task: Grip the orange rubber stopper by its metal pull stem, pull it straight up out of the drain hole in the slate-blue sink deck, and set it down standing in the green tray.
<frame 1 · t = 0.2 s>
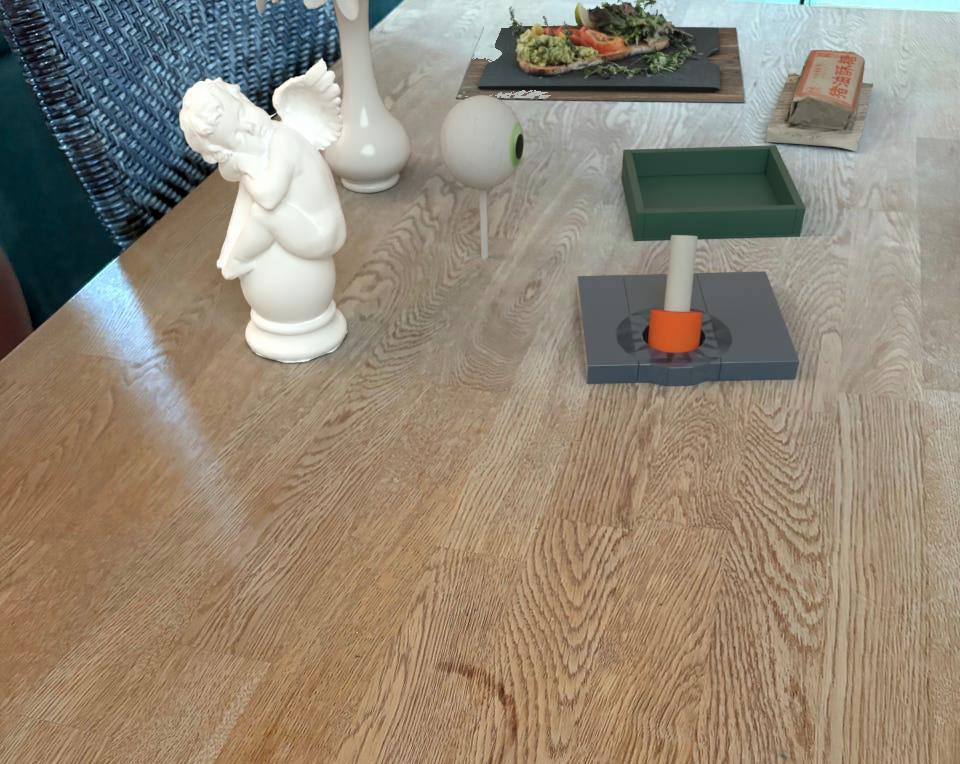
packaged product: (818, 120, 116), on the table
cherub figurine: (312, 328, 89), on the table
plated dish: (603, 62, 131), on the table
flower vase: (364, 184, 108), on the table
green tray: (705, 207, 102), on the table
stopper: (672, 357, 81), point 1 cm above the table, tilted 27°, touching sink deck
sink deck: (677, 348, 84), on the table
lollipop: (485, 273, 94), on the table
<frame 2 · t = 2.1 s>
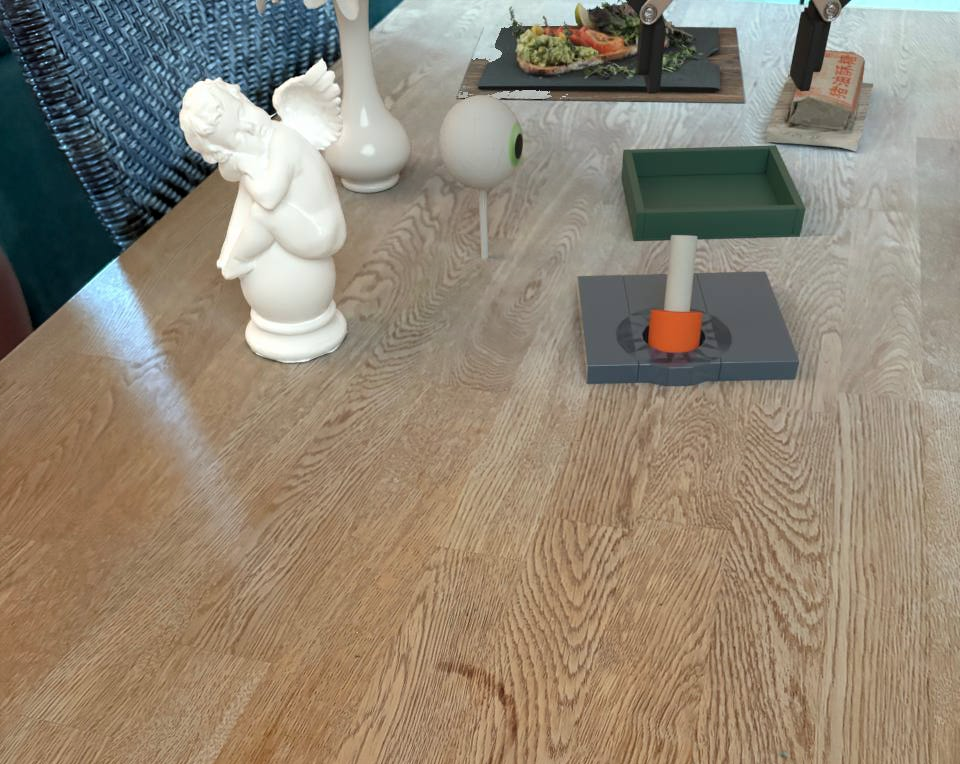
hand: (725, 85, 67), 21 cm above the table, tool pointing down, fingers open, 9 cm apart
nothing on the table moved.
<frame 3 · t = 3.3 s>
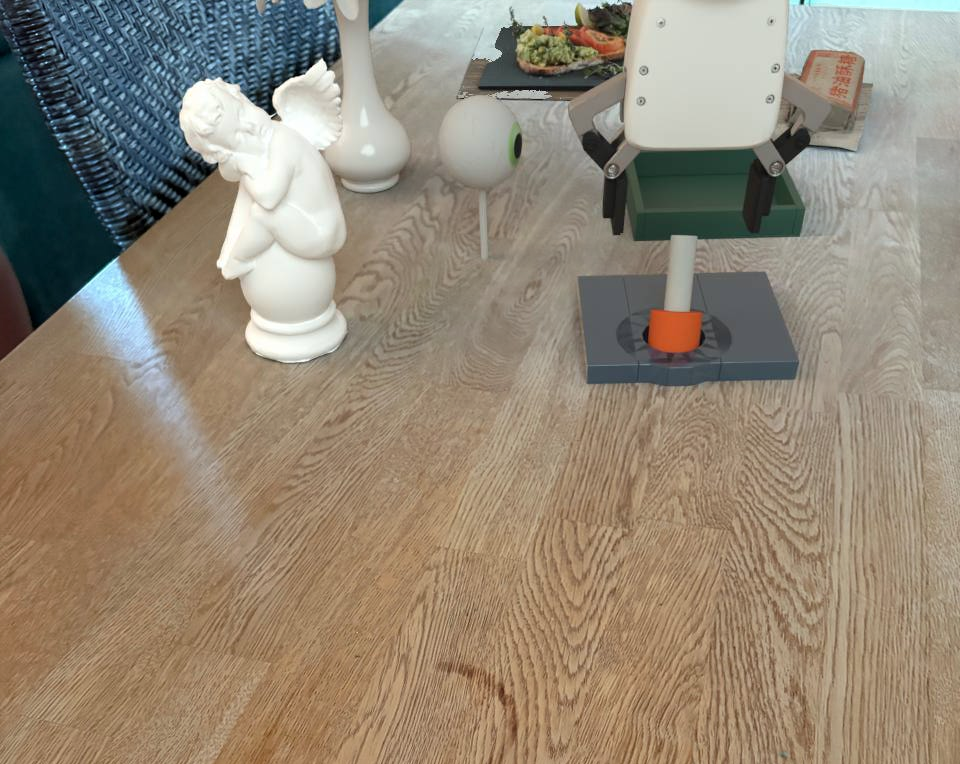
hand: (683, 226, 73), 12 cm above the table, tool pointing down, fingers open, 9 cm apart
nothing on the table moved.
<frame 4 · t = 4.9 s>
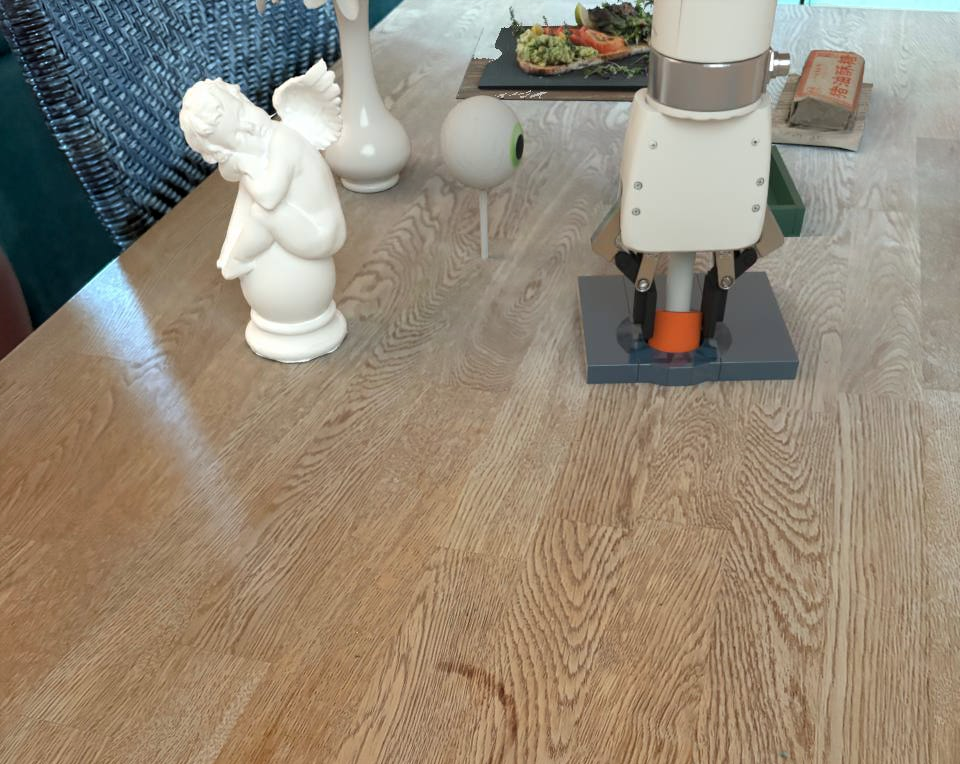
hand: (676, 327, 79), 4 cm above the table, tool pointing down, fingers closed on stopper, 4 cm apart
stopper: (672, 357, 81), point 1 cm above the table, tilted 27°, touching gripper, sink deck
everything else where it was.
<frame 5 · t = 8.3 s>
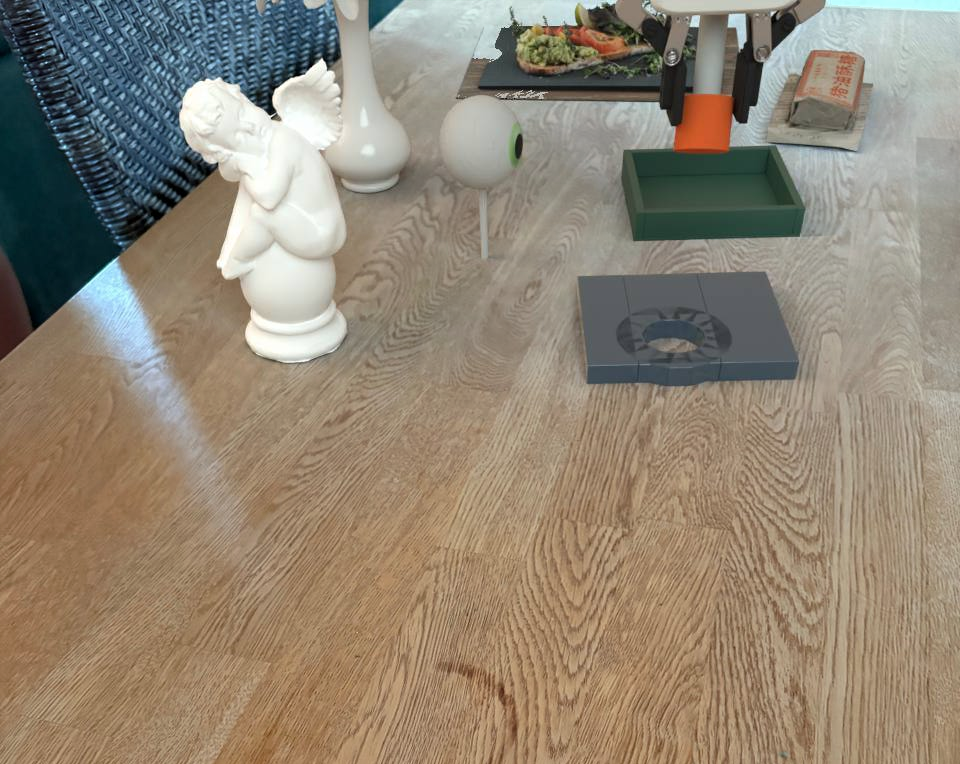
hand: (706, 115, 74), 17 cm above the table, tool pointing down, fingers closed on stopper, 4 cm apart
stopper: (700, 151, 75), point 15 cm above the table, tilted 26°, touching gripper
everything else where it was.
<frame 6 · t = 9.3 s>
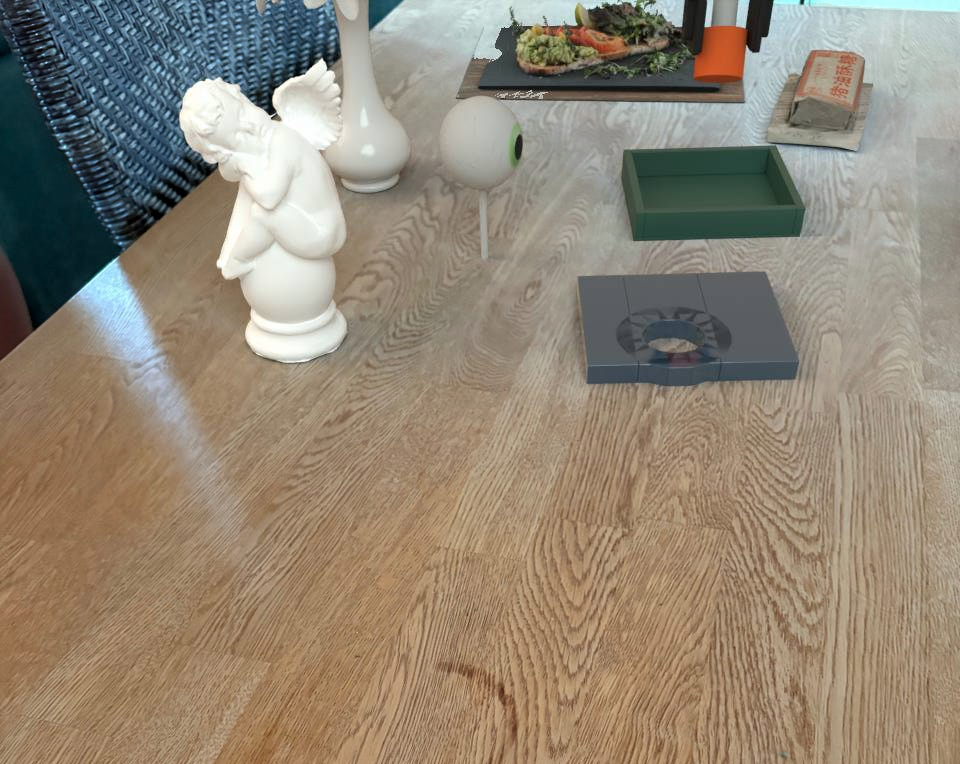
hand: (722, 46, 83), 17 cm above the table, tool pointing down, fingers closed on stopper, 4 cm apart
stopper: (717, 79, 84), point 15 cm above the table, tilted 26°, touching gripper
everything else where it was.
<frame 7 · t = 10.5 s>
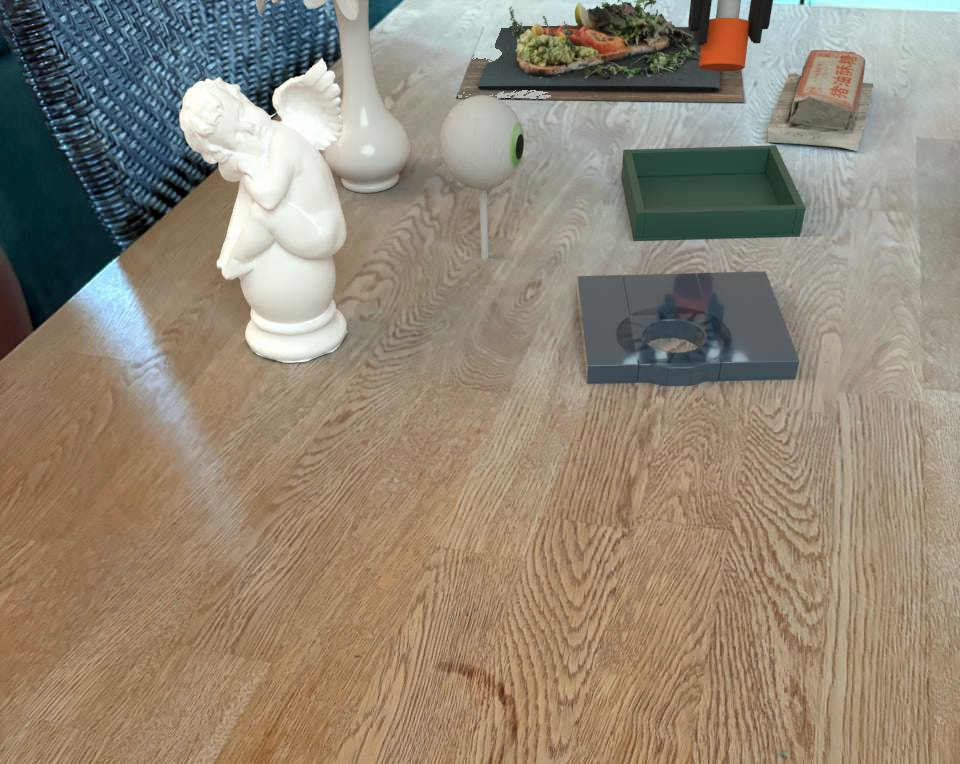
hand: (726, 36, 90), 16 cm above the table, tool pointing down, fingers closed on stopper, 4 cm apart
stopper: (721, 67, 91), point 13 cm above the table, tilted 26°, touching gripper
everything else where it was.
when the fingers open (4 cm above the table, at t = 13.6 s): stopper stays where it is, resting on green tray.
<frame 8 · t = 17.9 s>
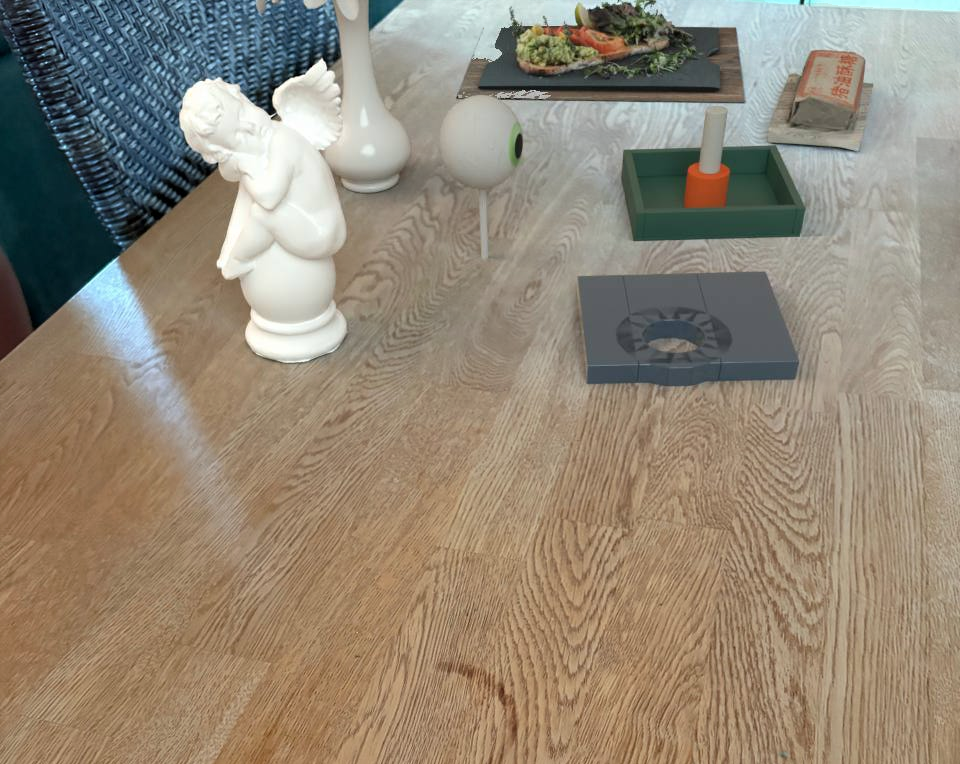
stopper: (704, 206, 101), resting on green tray
everything else where it was.
at the end: stopper inside the target area in the green tray (0.8 cm from its centre), point 0.5 cm above the green tray's base; stopper moved 29.0 cm from its start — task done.
